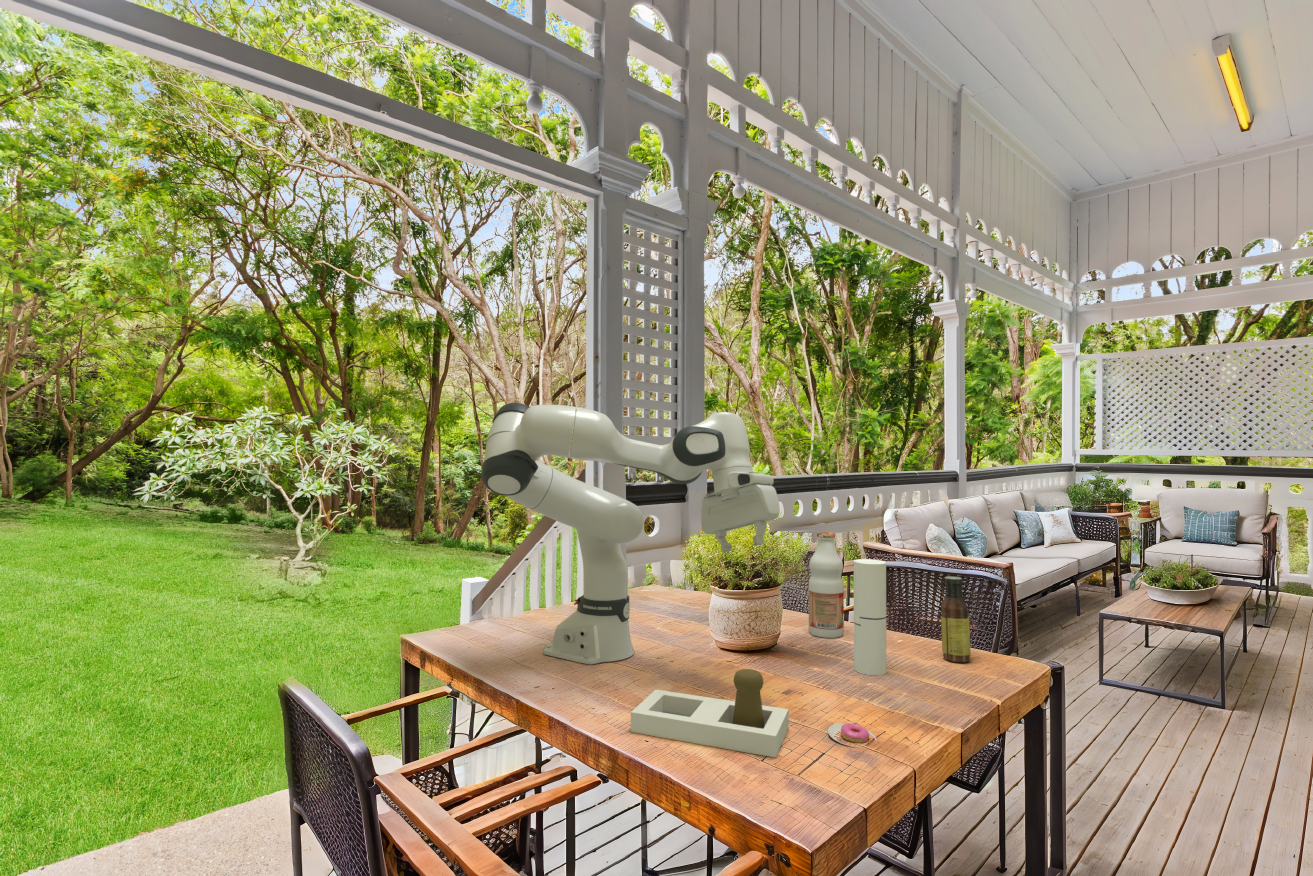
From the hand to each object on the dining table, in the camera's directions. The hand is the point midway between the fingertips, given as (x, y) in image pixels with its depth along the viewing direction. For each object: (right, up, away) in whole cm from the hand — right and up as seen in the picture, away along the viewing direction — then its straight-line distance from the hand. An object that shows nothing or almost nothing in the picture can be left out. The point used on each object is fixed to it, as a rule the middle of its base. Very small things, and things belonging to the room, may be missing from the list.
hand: (742, 548), depth 136 cm
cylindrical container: (+31, -31, +13) cm, 45 cm away
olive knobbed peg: (-2, -29, -22) cm, 37 cm away
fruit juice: (+29, -31, +43) cm, 60 cm away
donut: (+15, -30, -22) cm, 40 cm away
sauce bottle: (+55, -31, +21) cm, 66 cm away
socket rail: (-8, -29, -20) cm, 37 cm away
